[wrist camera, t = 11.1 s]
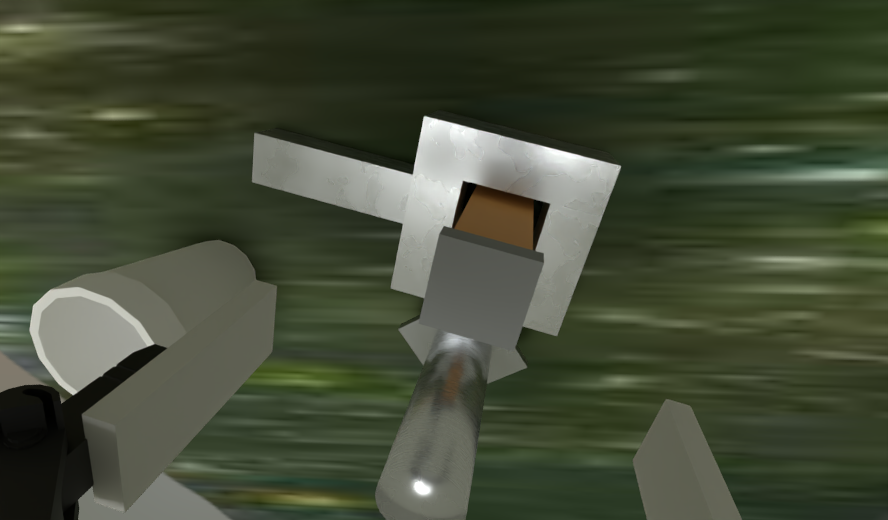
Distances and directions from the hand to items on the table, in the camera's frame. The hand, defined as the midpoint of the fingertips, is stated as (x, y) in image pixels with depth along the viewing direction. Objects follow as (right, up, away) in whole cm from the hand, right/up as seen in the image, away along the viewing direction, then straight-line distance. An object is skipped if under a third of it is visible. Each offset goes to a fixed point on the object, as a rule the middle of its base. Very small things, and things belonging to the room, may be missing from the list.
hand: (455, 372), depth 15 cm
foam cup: (-20, +3, +26) cm, 33 cm away
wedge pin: (+4, +7, +19) cm, 21 cm away
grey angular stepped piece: (-3, +5, +21) cm, 22 cm away
